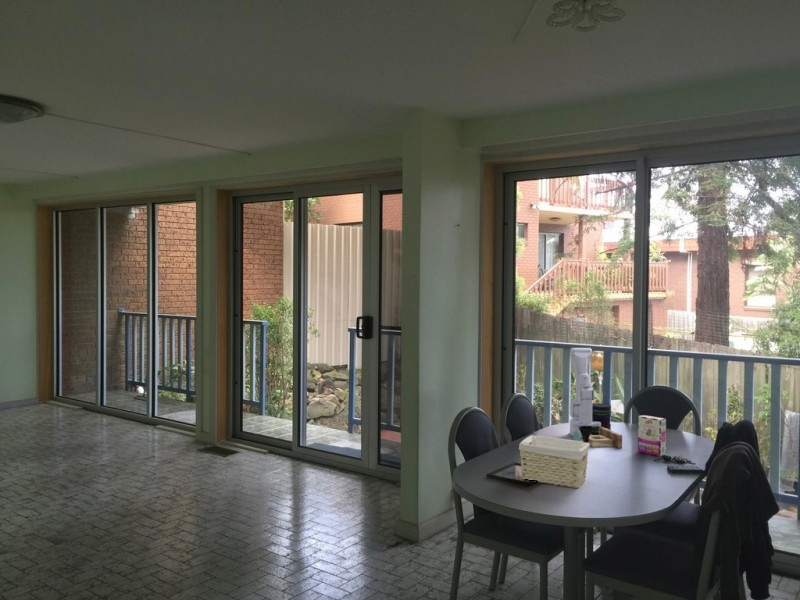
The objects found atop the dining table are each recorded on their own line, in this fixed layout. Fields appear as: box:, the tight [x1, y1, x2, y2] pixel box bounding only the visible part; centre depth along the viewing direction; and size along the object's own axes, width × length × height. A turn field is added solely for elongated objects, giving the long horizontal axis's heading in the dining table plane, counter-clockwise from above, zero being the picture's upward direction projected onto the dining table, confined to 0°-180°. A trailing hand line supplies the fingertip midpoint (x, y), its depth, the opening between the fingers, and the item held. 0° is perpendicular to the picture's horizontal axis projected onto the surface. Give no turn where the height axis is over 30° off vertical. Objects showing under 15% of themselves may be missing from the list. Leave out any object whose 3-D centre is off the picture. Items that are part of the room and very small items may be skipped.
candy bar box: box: [637, 414, 667, 457], centre depth 282 cm, size 11×5×16 cm, turn 37°
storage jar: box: [590, 402, 612, 435], centre depth 319 cm, size 10×10×15 cm
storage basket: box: [518, 434, 591, 489], centre depth 242 cm, size 24×16×15 cm
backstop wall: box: [599, 427, 623, 449], centre depth 300 cm, size 18×2×6 cm, turn 11°
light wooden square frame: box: [588, 434, 614, 448], centre depth 299 cm, size 10×10×3 cm
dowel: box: [572, 431, 582, 442], centre depth 289 cm, size 3×3×8 cm
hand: (585, 442), depth 298 cm, fingers closed
